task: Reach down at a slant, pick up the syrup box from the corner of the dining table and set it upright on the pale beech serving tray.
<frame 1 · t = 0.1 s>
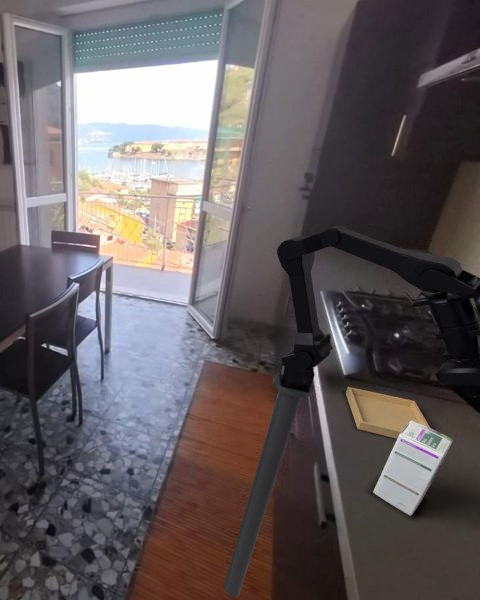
syrup box: (395, 496, 64), on the worktop
tray: (385, 417, 82), on the worktop
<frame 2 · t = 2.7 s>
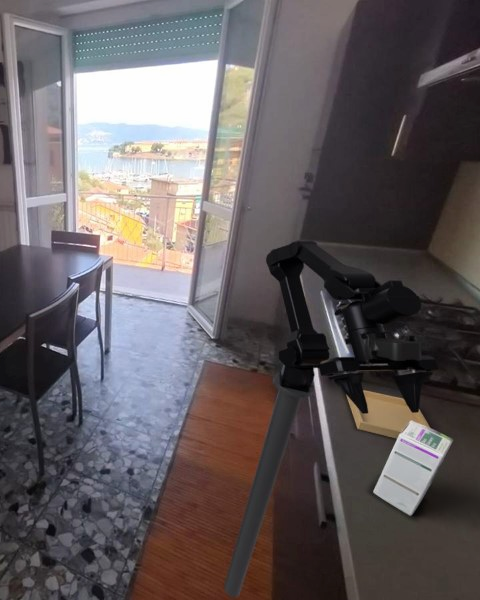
hand: (390, 413, 65), 13 cm above the worktop, tool tilted 45°, fingers open, 9 cm apart
nothing on the worktop moved.
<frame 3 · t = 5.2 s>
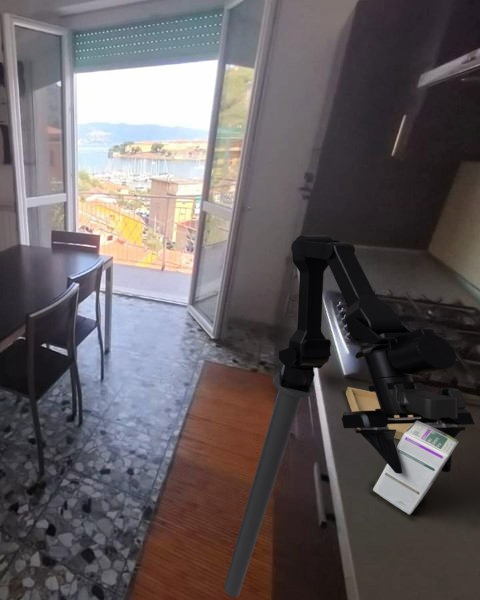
hand: (422, 472, 59), 8 cm above the worktop, tool tilted 45°, fingers closed on syrup box, 8 cm apart
syrup box: (395, 495, 64), on the worktop, touching gripper
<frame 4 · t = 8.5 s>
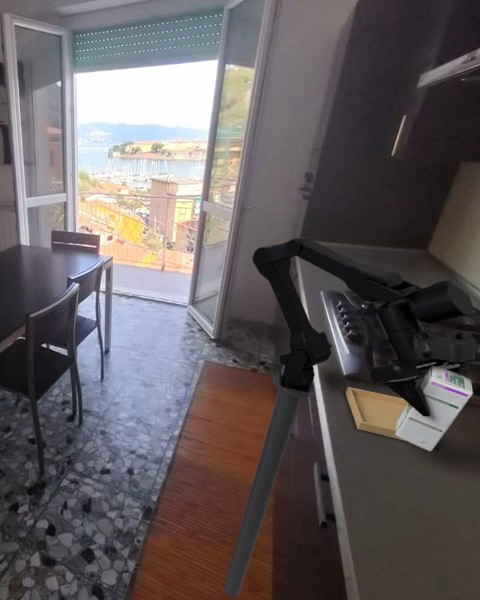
hand: (442, 411, 65), 13 cm above the worktop, tool tilted 45°, fingers closed on syrup box, 7 cm apart
syrup box: (411, 436, 70), point 5 cm above the worktop, touching gripper
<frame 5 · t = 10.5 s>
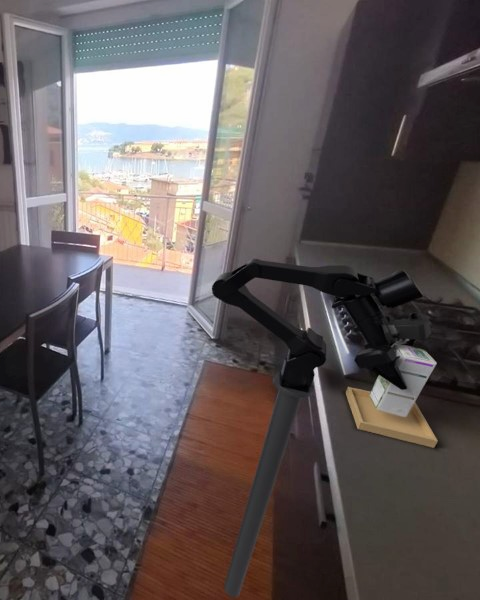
hand: (410, 382, 76), 11 cm above the worktop, tool tilted 45°, fingers closed on syrup box, 7 cm apart
syrup box: (385, 406, 80), point 3 cm above the worktop, touching gripper
when the fingers open (9 cm above the worktop, at t = 11.9 s): syrup box stays where it is, resting on tray.
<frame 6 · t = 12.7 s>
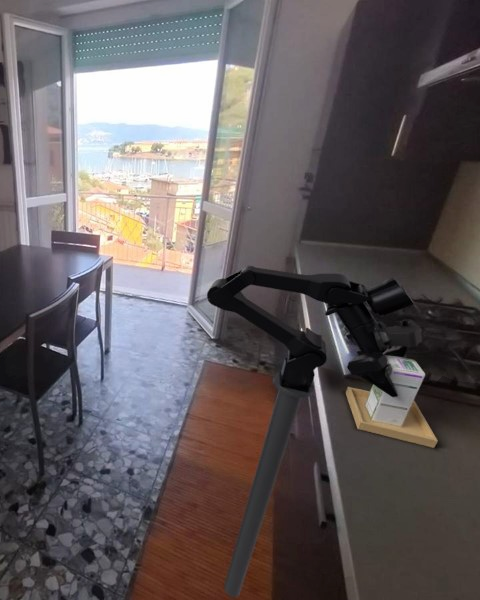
hand: (402, 388, 77), 9 cm above the worktop, tool tilted 45°, fingers open, 9 cm apart
syrup box: (381, 416, 82), resting on tray, touching gripper
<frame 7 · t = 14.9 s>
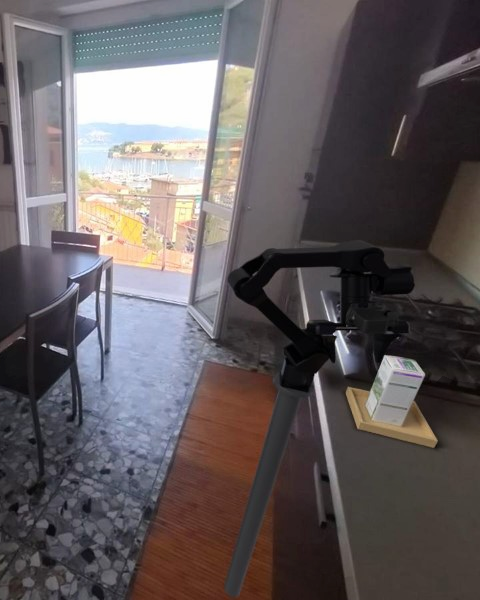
hand: (355, 362, 83), 11 cm above the worktop, tool tilted 20°, fingers open, 9 cm apart
syrup box: (381, 416, 82), resting on tray
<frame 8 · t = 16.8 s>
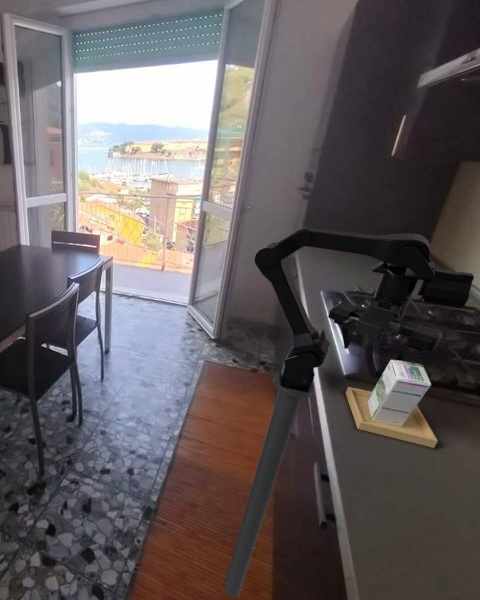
hand: (368, 357, 81), 13 cm above the worktop, tool pointing down, fingers open, 9 cm apart
syrup box: (382, 414, 81), point 1 cm above the worktop, touching gripper, tray
at the end: syrup box inside the target area in the tray (0.9 cm from its centre), point 0.9 cm above the tray's base; syrup box tilted 12°; the gripper is holding nothing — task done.
